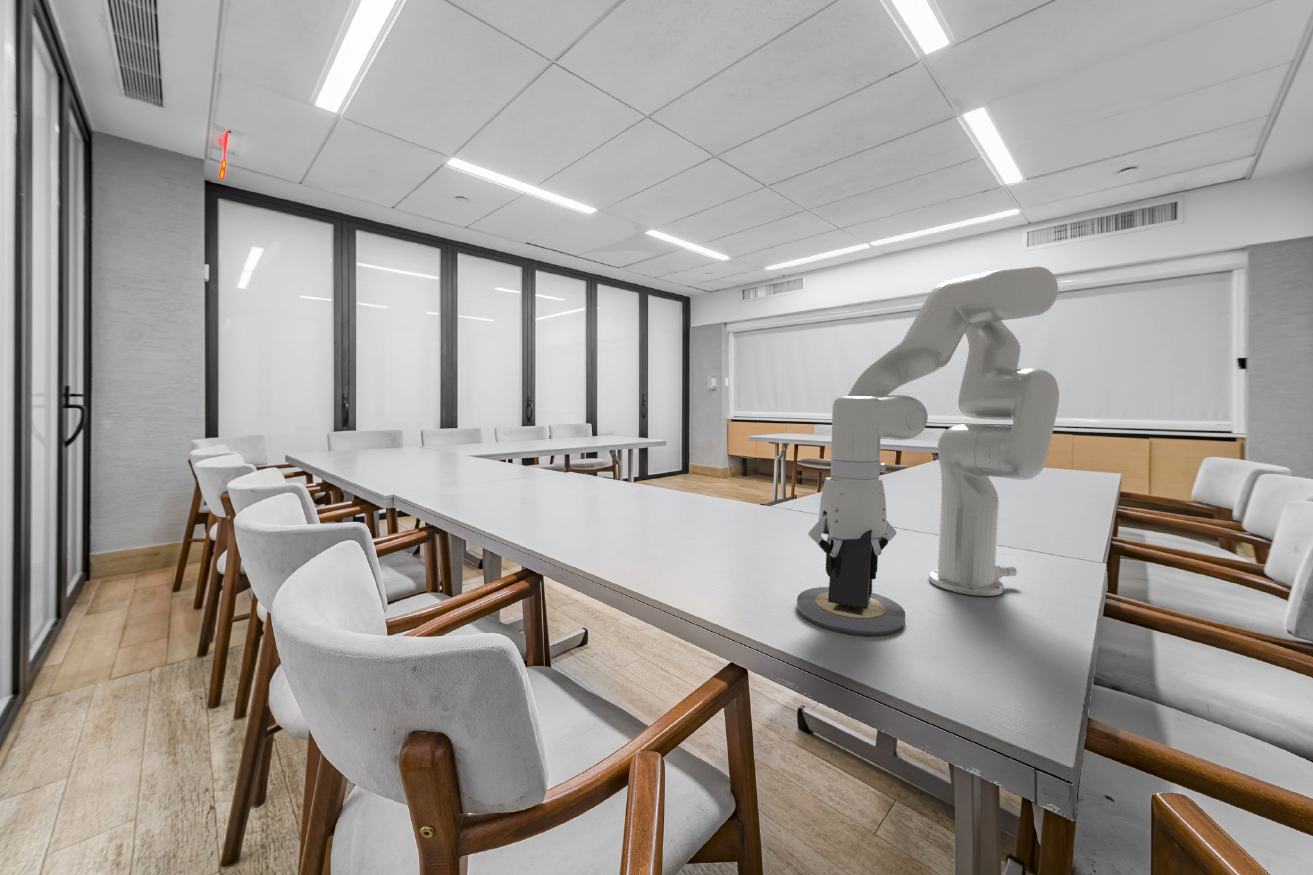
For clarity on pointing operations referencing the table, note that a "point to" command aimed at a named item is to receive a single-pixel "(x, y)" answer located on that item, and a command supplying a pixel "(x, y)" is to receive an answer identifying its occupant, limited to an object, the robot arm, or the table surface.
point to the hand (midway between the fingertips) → (851, 576)
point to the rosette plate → (851, 614)
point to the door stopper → (853, 573)
